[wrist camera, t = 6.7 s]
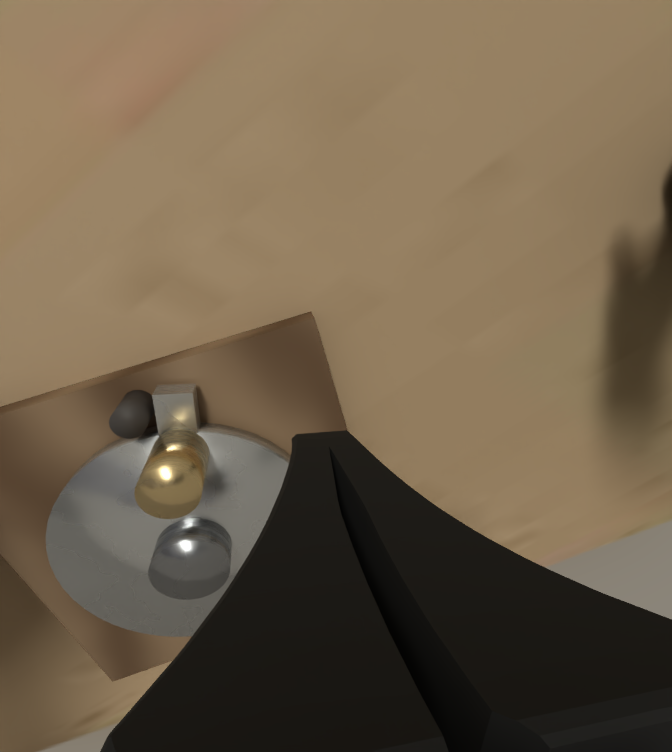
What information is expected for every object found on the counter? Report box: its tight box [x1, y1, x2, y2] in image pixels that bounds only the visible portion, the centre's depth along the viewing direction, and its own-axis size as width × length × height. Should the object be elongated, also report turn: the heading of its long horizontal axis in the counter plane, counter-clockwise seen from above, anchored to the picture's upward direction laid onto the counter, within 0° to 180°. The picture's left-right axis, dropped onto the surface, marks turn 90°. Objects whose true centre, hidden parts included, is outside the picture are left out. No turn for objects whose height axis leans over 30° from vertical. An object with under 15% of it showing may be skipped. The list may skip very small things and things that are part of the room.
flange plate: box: [46, 383, 291, 637], centre depth 19 cm, size 15×13×4 cm
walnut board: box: [0, 312, 347, 681], centre depth 21 cm, size 18×18×3 cm
